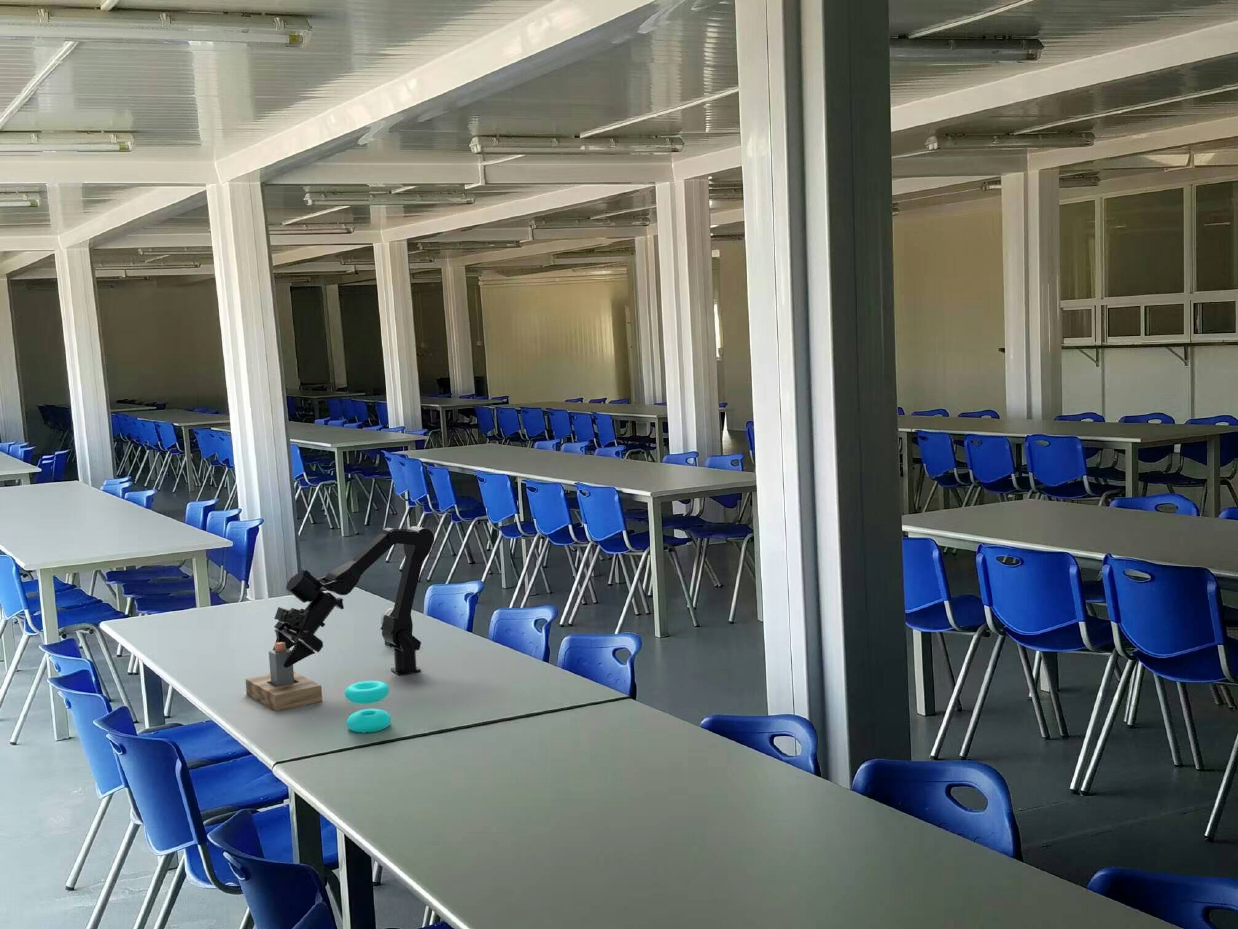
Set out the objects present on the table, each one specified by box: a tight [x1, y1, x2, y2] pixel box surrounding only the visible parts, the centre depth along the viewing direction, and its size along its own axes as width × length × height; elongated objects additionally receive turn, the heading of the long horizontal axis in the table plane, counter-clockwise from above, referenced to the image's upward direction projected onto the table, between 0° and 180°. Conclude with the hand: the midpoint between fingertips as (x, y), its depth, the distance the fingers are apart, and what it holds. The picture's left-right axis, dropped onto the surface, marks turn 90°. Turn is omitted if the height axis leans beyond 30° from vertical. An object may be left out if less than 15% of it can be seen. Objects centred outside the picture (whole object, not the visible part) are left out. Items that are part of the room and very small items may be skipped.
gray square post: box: [268, 642, 295, 687], centre depth 309 cm, size 4×4×13 cm
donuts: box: [344, 680, 392, 734], centre depth 283 cm, size 10×10×10 cm
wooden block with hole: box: [245, 671, 323, 712], centre depth 310 cm, size 20×12×4 cm, turn 37°
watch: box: [380, 606, 394, 647], centre depth 360 cm, size 6×8×11 cm
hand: (277, 663), depth 309 cm, fingers open, 9 cm apart
